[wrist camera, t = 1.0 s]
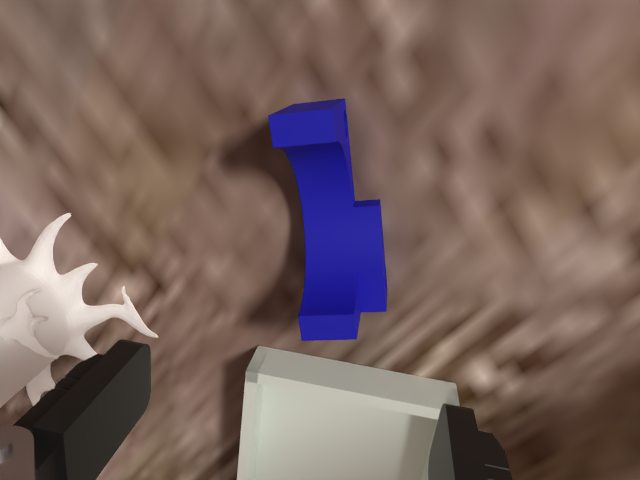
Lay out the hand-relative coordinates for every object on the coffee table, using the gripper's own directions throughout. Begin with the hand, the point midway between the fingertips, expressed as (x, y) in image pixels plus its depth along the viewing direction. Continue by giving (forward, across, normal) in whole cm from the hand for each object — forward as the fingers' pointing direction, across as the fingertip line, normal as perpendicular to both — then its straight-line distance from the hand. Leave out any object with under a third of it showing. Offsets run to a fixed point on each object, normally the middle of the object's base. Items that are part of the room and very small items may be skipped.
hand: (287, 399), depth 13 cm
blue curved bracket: (+18, +1, 0) cm, 18 cm away
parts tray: (+18, -2, +21) cm, 27 cm away
